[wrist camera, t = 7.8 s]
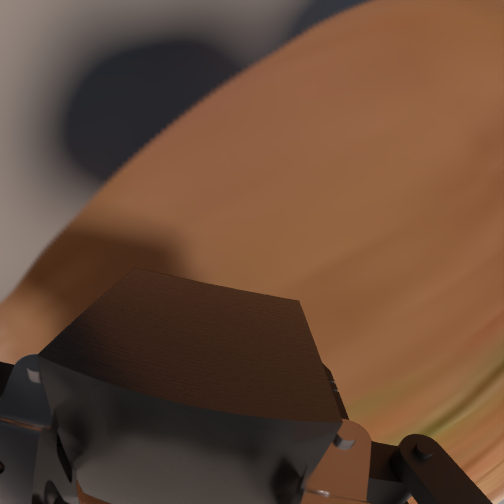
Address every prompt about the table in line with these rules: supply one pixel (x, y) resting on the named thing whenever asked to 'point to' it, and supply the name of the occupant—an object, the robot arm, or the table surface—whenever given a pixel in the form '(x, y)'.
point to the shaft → (189, 394)
